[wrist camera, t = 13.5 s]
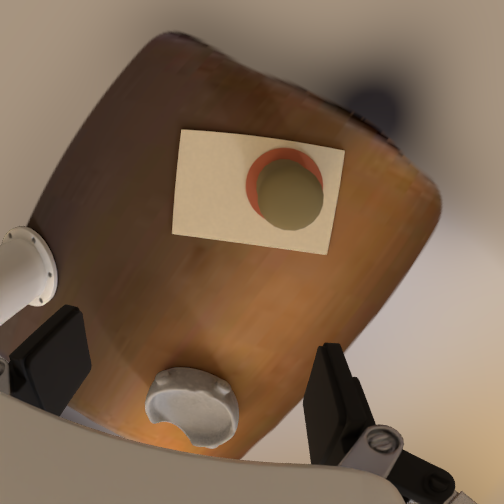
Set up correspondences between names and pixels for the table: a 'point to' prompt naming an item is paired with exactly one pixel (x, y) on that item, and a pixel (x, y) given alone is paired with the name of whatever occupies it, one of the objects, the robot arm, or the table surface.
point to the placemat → (247, 189)
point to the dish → (194, 405)
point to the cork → (289, 195)
